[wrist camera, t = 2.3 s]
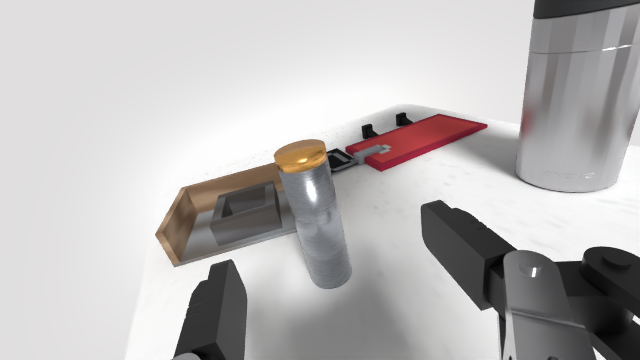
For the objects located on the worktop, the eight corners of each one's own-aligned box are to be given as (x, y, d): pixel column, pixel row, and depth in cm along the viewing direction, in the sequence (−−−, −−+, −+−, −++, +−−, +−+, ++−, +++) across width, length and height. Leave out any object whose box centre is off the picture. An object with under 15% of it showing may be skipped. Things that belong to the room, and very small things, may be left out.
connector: (325, 253, 30) (295, 138, 24) (358, 263, 28) (334, 139, 22) (303, 280, 27) (263, 159, 21) (338, 294, 25) (304, 162, 19)
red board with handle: (303, 160, 54) (339, 191, 42) (299, 147, 53) (335, 175, 40) (426, 117, 63) (486, 131, 50) (425, 104, 61) (488, 116, 49)
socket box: (195, 214, 44) (181, 187, 42) (310, 182, 45) (303, 154, 43) (174, 267, 33) (155, 234, 31) (325, 222, 35) (317, 188, 33)
